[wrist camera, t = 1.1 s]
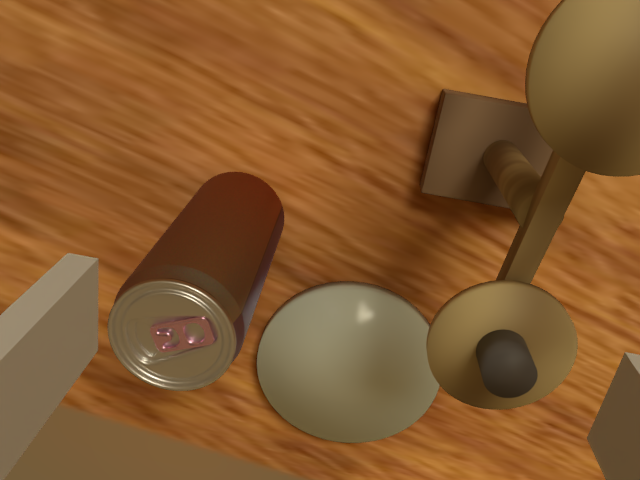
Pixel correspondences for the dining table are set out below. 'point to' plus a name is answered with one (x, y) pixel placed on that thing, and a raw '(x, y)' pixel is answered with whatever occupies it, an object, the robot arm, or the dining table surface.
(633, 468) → the robot arm
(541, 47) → the balance
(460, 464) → the dining table surface
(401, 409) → the dish
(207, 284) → the beverage can
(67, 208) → the dining table surface
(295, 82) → the dining table surface
